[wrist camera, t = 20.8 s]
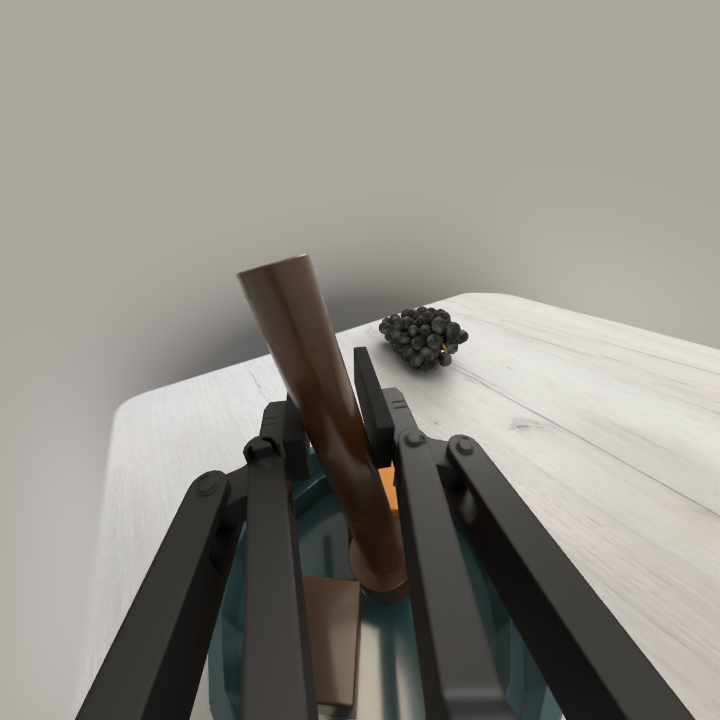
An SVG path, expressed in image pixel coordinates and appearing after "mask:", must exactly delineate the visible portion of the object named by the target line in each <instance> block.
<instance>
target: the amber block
mask: <svg viewBox="0 0 720 720" xmlns="http://www.w3.org/2000/svg"><path fill="white" fill-rule="evenodd" d="M378 470H379V473H380V476H381V479H382V482H383V485H384V488H385V492H386V495H387V498H388V501H389V504H390V507H391V510H392V513H393V516H394V517H396V518H398V519H400V518H399V511H398V503H397V496H396V489H395V486H393V479H394V470H395V469H394V466H393V462H392V464H391V467H388V468H382V469H378ZM347 533H348V538H353V536H352V534H351V532H350V529H349V527H348V525H347Z"/></svg>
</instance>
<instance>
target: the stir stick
mask: <svg viewBox="0 0 720 720" xmlns="http://www.w3.org/2000/svg"><path fill="white" fill-rule="evenodd" d="M236 277H237V279H238V281H239V284H240V286H241V288H242V290H243V292H244V295H245V297H246V299H247V301H248V304H249V306H250V308H251V310H252V312H253V315H254V317H255V319H256V322H257V324H258V326H259V328H260V330H261V333H262V335H263V337H264V339H265V342H266V344H267V346H268V348H269V351H270V353H271V355H272V357H273V360H274V362H275V364H276V366H277V368H278V371H279V373H280V375H281V377H282V380H283V382H284V384H285V386H286V389H287V391H288V393H289V395H290V398H291V400H292V402H293V404H294V406H295V409H296V411H297V413H298V415H299V418H300V420H301V422H302V424H303V427H304V429H305V431H306V433H307V436H308V438H309V440H310V442H311V444H312V447H313V449H314V451H315V453H316V456H317V458H318V460H319V462H320V465H321V467H322V469H323V471H324V474H325V476H326V478H327V480H328V482H329V485H330V487H331V489H332V491H333V494H334V496H335V498H336V500H337V503H338V505H339V507H340V509H341V512H342V514H343V516H344V518H345V520H346V523H347V525H348V527H349V529H350V532H351V534H352V536H353V538H352V541H351V544H350V549H349V563H350V568H351V571H352V573H353V575H354V577H355V579H356V580H360V581H361V591H362V592H363V593H364V595H365V596H366V597H367V598H368V599H370V600H371V601H373V602H375V603H377V604H380V605H395V604H398V603H400V602H402V601H404V600H405V599H406V598H407V597H409V596H410V592H409V585H408V577H407V570H406V563H405V555H404V548H403V540H402V533H401V526H400V519H398V518H396V517H394V516H393V513H392V510H391V507H390V504H389V501H388V498H387V495H386V492H385V488H384V485H383V482H382V479H381V476H380V473H379V470H378V469H376V468H375V460H374V455H373V451H372V448H371V445H370V442H369V439H368V436H367V433H366V429H365V426H364V423H363V420H362V417H361V414H360V411H359V408H358V405H357V401H356V398H355V395H354V392H353V389H352V386H351V383H350V380H349V377H348V373H347V370H346V367H345V364H344V361H343V358H342V355H341V352H340V349H339V345H338V342H337V339H336V336H335V333H334V330H333V327H332V324H331V321H330V318H329V314H328V311H327V308H326V305H325V302H324V299H323V296H322V293H321V290H320V286H319V283H318V280H317V277H316V274H315V271H314V268H313V265H312V262H311V259H310V256H309V254H308V253H305V254H302V255H298V256H295V257H291V258H287V259H284V260H280V261H277V262H274V263H270V264H267V265H263V266H260V267H257V268H253V269H250V270H246V271H243V272H240V273H237V274H236Z"/></svg>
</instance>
